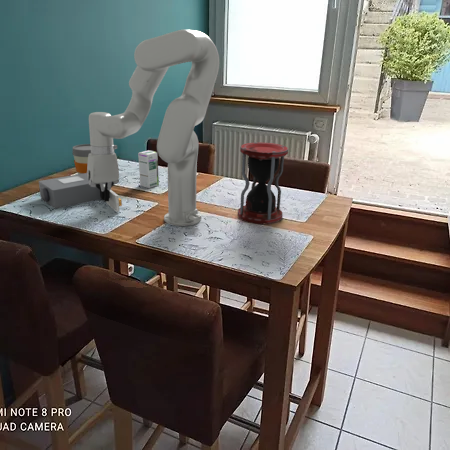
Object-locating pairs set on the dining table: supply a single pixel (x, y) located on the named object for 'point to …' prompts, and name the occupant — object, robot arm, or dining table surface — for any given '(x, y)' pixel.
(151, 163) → the syrup box
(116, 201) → the side door
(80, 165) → the reusable coffee cup
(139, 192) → the dining table surface
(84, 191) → the camera housing
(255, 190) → the hourglass
